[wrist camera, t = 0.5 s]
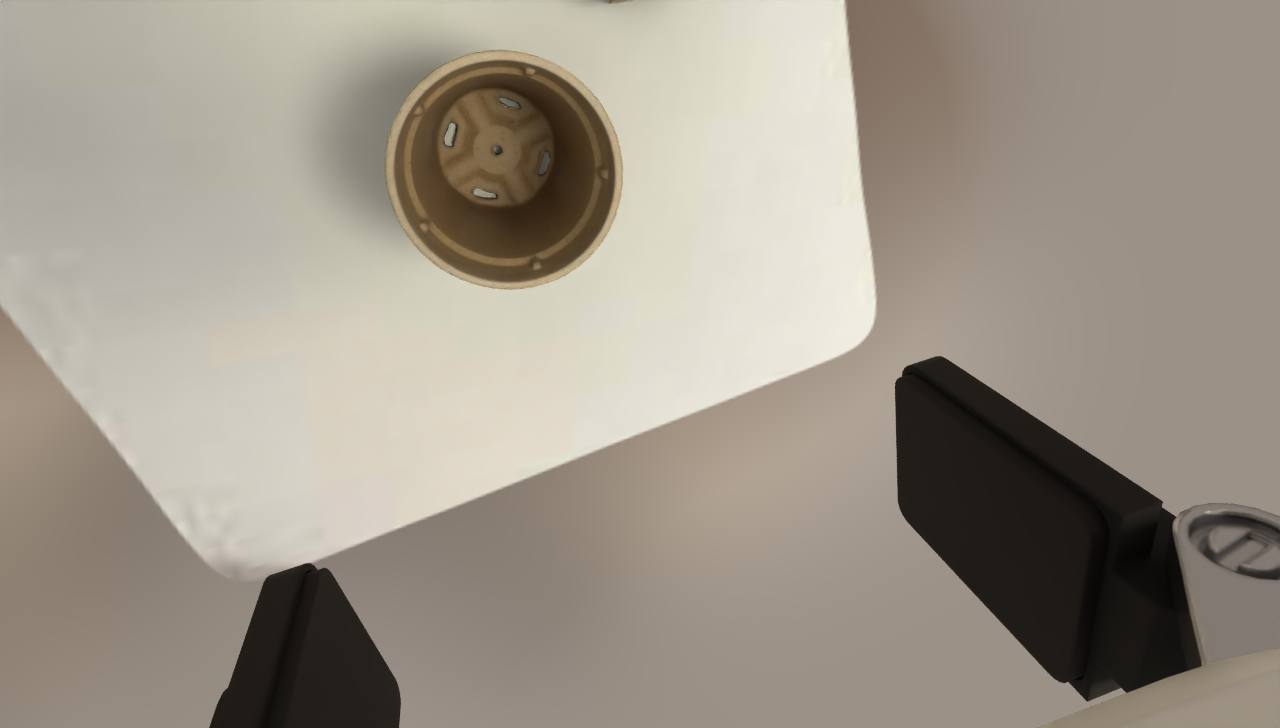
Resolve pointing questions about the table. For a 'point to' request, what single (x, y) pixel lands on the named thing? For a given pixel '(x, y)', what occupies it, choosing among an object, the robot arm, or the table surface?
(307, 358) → the table surface
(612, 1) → the brown wooden block
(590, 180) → the flower pot
